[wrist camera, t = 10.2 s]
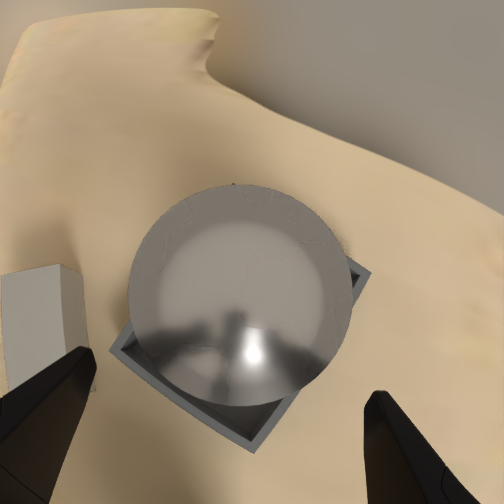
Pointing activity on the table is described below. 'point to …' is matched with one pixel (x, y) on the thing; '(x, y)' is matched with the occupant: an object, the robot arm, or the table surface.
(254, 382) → the steel can
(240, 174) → the table surface
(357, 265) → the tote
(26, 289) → the grey rectangular block
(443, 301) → the table surface
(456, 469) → the table surface
